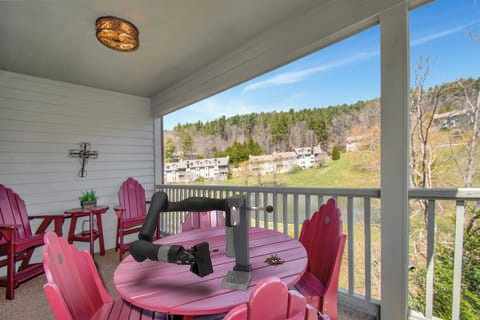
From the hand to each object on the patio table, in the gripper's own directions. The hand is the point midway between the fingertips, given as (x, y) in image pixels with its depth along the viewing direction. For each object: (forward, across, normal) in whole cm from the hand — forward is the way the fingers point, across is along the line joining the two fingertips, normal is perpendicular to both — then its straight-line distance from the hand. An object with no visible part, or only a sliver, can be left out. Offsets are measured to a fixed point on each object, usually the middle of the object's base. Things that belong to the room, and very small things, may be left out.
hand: (206, 256), depth 92 cm
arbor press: (+16, -14, -14) cm, 25 cm away
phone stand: (-2, 0, -7) cm, 7 cm away
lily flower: (+25, -35, -15) cm, 46 cm away
